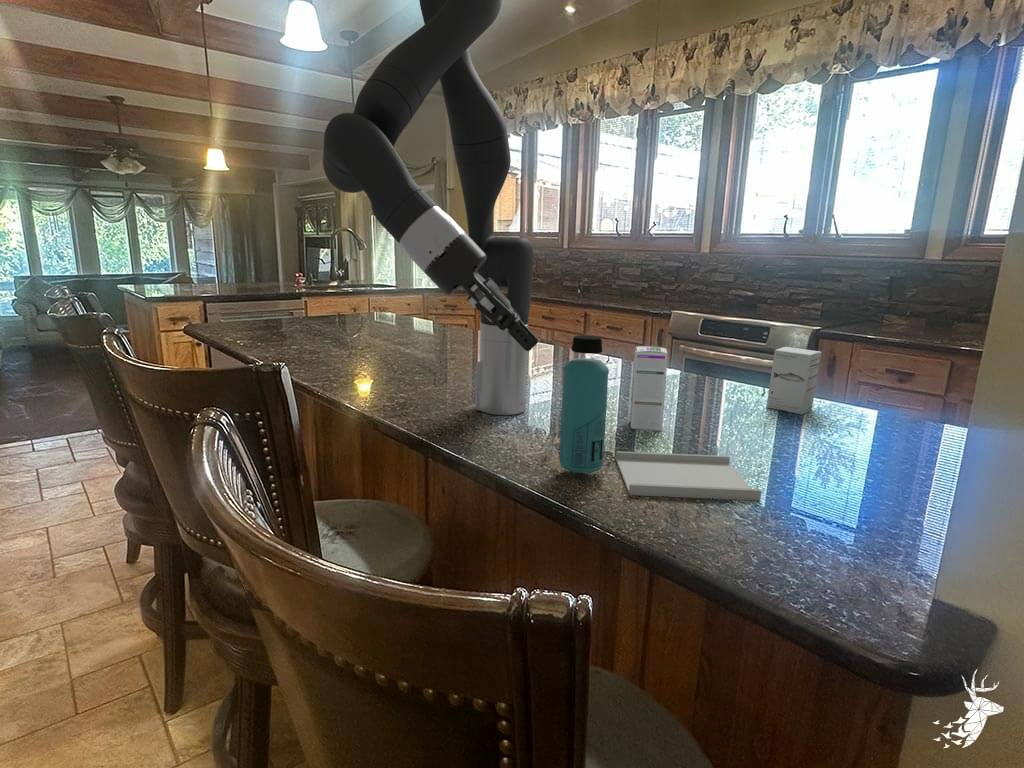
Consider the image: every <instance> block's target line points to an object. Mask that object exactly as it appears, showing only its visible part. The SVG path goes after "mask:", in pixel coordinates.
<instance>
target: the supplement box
mask: <svg viewBox="0 0 1024 768" xmlns="http://www.w3.org/2000/svg"><path fill="white" fill-rule="evenodd" d="M822 353H823V352H822V351H820V350H819V351H818V350H811V349H806V348H805V349H804V348H797V347H790V346H783V347H780V348H777V349H774V352H773V358H772V360H773V361H772V367H771V373H770V382H769V387H768V395H767V400H766V408H767V409H773V410H774V409H775V410H778V411H783V412H789V413H793V414H797V415H800V416H803V415H804V414H806V413H807V412H809V411H810V410H812V409H813V406H814V405H813V404H814V399H815V394H816V392H815V391H816V387H817V381H818V375H819V370H820V363H821V358H822Z"/></svg>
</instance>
